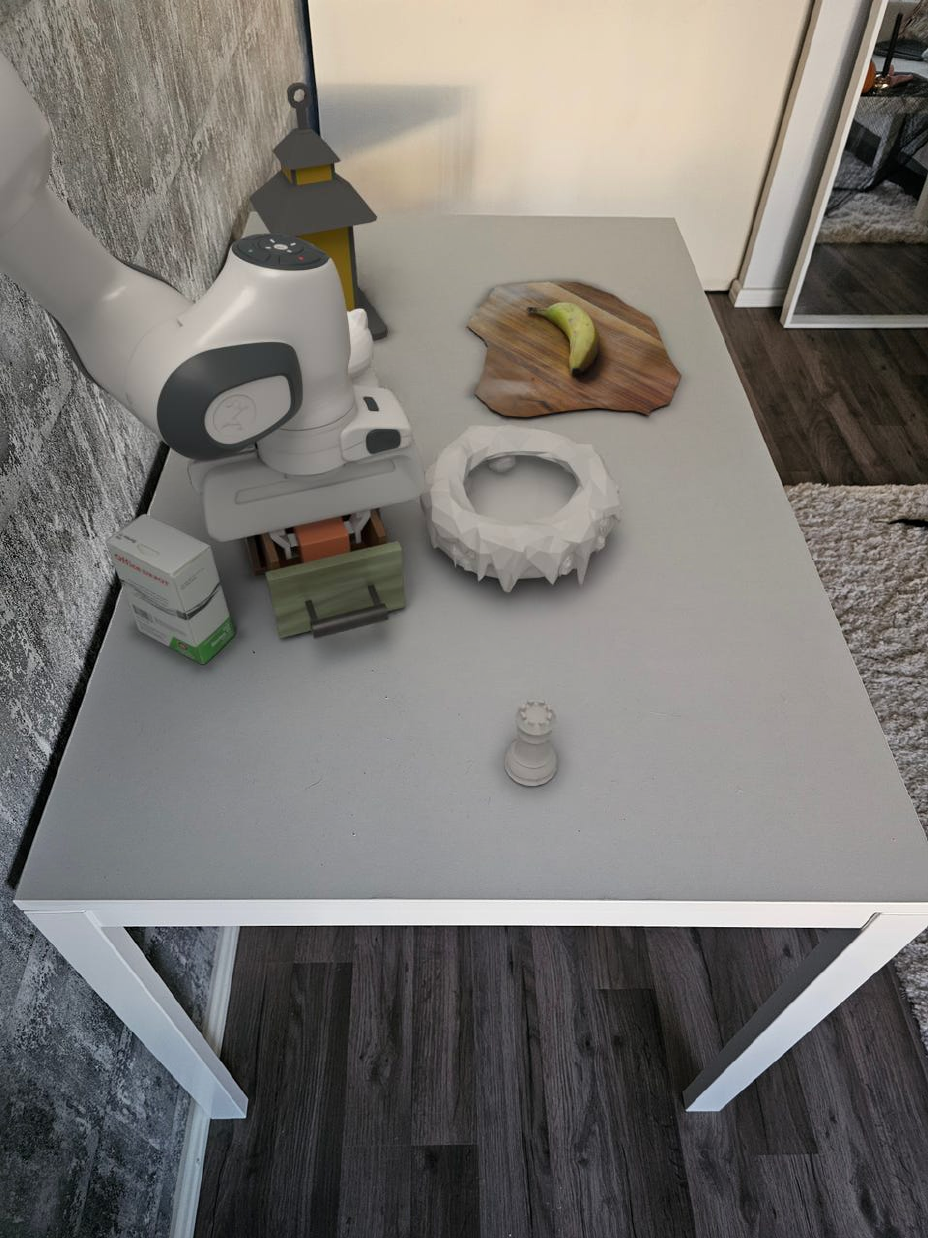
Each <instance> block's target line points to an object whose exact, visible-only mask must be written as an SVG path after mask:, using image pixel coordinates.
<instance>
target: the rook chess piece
mask: <svg viewBox="0 0 928 1238" xmlns="http://www.w3.org/2000/svg"><path fill="white" fill-rule="evenodd" d="M515 723H516V728H517V729H516V730H517V734H518V735H517V738H515V740H513V741H512V742H511V743H510V744H509V746H508V748H507V751H506V754H505V758H504V769H505V771H506V773H507V775H508V776H509V777H510V778H511V779H513V781H515V783H518V784H521V785H522V786H527V787H538V786H540V785H544V784H547V782H549V781H550V780H552V778H553V777H554V775H555V773H556V771H557V753H556V751H555V749H554V747H553V745H552V743H550V741H549V739H550V737H551V735H552V733H553V729H554V727H555V725H556V723H557V717H556V714H555V712H554V710H553V707H551V704H548V705H547V704H546V700H544V699H541V698H539V699H538V701H535V700H534V698H530V699H527V702H526V703H522V705H521V706H520V707H519V708H517V711H516V712H515Z"/></svg>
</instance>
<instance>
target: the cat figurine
mask: <svg viewBox="0 0 928 1238" xmlns="http://www.w3.org/2000/svg"><path fill="white" fill-rule="evenodd" d="M347 315H348V323H349V332H350V343H351V355H350V360H349V364H348V373H349V377H350V379H351V381H352V383H353V385H357V386H366V387H376V388H381V387H380V383H379V379H378V378H377V376H376V373H375V371H374V370H373V369H372V367H371V365H372V362H373V359H374V355H375V354H374V353H375V345H374V340H373V339H372V335H371V333H370V330H369V329H368V327H367V326H368V318H367V314H366V312H365V311H364V309H355V310H353V311H351V312H349V311H347Z"/></svg>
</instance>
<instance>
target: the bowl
mask: <svg viewBox="0 0 928 1238" xmlns="http://www.w3.org/2000/svg"><path fill="white" fill-rule="evenodd" d="M424 473H425V490H424V492H423V493H422V494H421V495H420V497H419V503H420V509H421V510H422V512H423V515H424V516H425V520H426V525H427V530H428V535H429V539H430V544H431V547H432V548H433V549H434V550H435V549H437V548H439V549H440V550H441V551H442V552H443V553H445V554H446V555H447V556H448V557H449V558H450V559H451V560H452V561H453V562H454V567H455V568H457V565H458V566H460V567H462V568H463V570H464V571H467V572H473V573H474V574H476V575H477V582H480V581H481V580H482V579H483V578H484V577H485V576H486V577H491V578H495V579H498V581H499V584H500V586H501V588H502V591H503V592H505V593H510V592H511V591H512V590H513V588H514V587H515V585H516V583H517V582H518V580H519V579H520V580H521V579H522V580H523V579H539V578H543V577H544V578H546V579H547V581H548V582H549V583H550V584H551V585H552V586H553V585H554V584H555V582H556V580H557V578H558V577H561V575H562V576H563V575H565V576H567V575H568V574H570V573H571V572H572V570H574V569H576V573H577V574H576V575H577V581H578V584H579V587H581V586H582V585H583V582H584V580H585V576H586V572H587V568H588V565H589V562H590V557H591V554H593V552H596V554H595V555H597V554H599V552H600V551H601V550H602V549H603V548H604V547H605V545H606V538H607V536H608V535H609V534H610V532H611V530H612V528H613V525H614V523H615V521H617V523H620V522H621V513H622V510H623V509H624V508H625V507H624V506H623V504H622V501H621V499H620V498H619V497H618V496H619V495H620V492H619V485H617V484H615V482H614V480H613V477H612V475H611V472H610V470H609V468H608V466H607V463H606V461H605V459H604V458H603V456H602V455H601V453H600V452H599V451H598V450H597V449H596V448H595V447H594V446H593V445H592V444H590V443H579V442H577V441H575V440H572V439H571V438H568V437H566V436H564V435H562V434H560V433H559V434H558V433H555V432H553V431H549V430H546V429H539V428H530V427H524V426H520V425H514V424H505V425H498V426H495V425H469V426H468V427H467V428H466V429H465V430H463V431H462V433H461V434H459V436H458V437H456V438H455V439H454V440H453V441H452V442H450V443H449V444H448V445H446V446H445V447H444V448H443V449H441V450H440V451H439V452H437V453H436V455H435V459H434V462H433V463H432V464H431V466H430V467H429V468H428V469H427V470H426V472H424Z"/></svg>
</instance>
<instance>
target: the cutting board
mask: <svg viewBox="0 0 928 1238" xmlns="http://www.w3.org/2000/svg"><path fill="white" fill-rule="evenodd" d="M466 327H468V328H469V329H470V330H471V331H472V332H473V333H475V334H476V335H477V336H478V337H480V338H481V339H483V341H484V343H485V344H486V346H487V350H486V354H485V359H484V367H483V371H482V373H481V375H480V378H479V380H478V382H477V385H476V388H475V391H474V394H475V395H476V396H477V397H478V398H479V399H480V400H481V401H483V402H484V403H485V404H486V405H487V407H488V408H489V409H490V410H493V411H495V412H496V413H499V414H501V415H503V416H507V417H508V416H510V417H520V418H521V417H522V418H528V417H534V416H540V415H547V414H554V413H560V412H566V411H567V412H568V411H575V410H576V411H577V410H586V409H597V408H599V409H606V410H607V409H608V410H613V411H614V410H615V411H621V412H622V411H623V412H628V411H634V412H637V413H640V414H644V415H646V416H649V415H650V413H651V411H653V410H655V409H658V408H660V407H663V406H666V405H669V404H670V403H671V401H672V398H673V396H674V393H675V391H676V389H677V386H678V383H679V381H680V379H681V377H682V373H680V372H679V370H678V368H676V366H675V364H674V363H673V362H672V360H671V358H670V356H669V354H668V351H667V349H666V347H665V345H664V342H663V339H662V337H661V335H660V332H659V329H658V327H657V325H656V323H655V322H654V321H653V319H652V317H650V316H649V315H647V314H646V313H644V312H642V311H640V310H638V309H637V308H635V307H633V306H631V305H629V304H627V303H626V302H624V301H623V300H622V299H621V298H619V297H618V296H616V295H615V294H614V293H613V294H612V293H609V292H607V291H605V290H602V289H600V288H597V287H594V286H592V285H587V284H585V283H581V282H578V281H543V282H524V283H513V284H505V285H504V284H503V285H497V286H495V288H494V289H492V291H491V293H490V294H489V295H488V296H487V298H486V299H485V301H484V302H483V303H482V305H481V306H480V307H479V308H478V310H477V311H476V312H475V313H474V315H472V316H471V318H470V319H469V321H468V323H467V324H466Z"/></svg>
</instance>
